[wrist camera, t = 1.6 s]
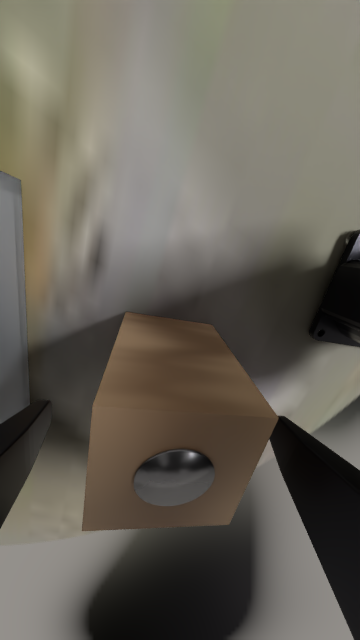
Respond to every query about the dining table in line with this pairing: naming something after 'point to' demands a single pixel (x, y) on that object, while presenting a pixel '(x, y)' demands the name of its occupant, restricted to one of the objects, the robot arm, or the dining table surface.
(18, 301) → the tray
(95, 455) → the wooden block with knob
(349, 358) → the dining table surface
